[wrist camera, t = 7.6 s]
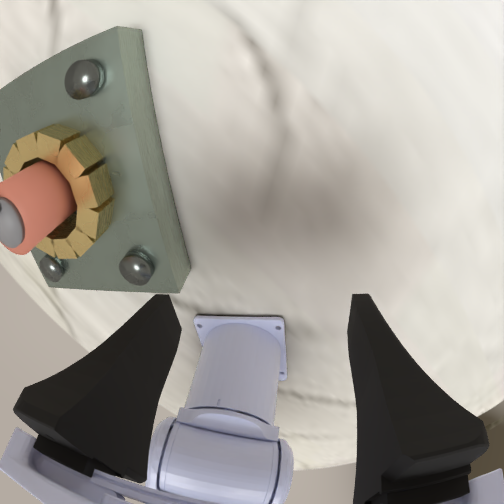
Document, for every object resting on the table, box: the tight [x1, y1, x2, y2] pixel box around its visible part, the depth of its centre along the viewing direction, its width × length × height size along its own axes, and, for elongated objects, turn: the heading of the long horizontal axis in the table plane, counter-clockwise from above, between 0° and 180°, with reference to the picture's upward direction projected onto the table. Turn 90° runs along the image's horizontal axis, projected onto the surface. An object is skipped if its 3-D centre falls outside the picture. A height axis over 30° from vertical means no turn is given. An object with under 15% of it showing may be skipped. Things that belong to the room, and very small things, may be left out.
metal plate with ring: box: [0, 26, 191, 293], centre depth 18 cm, size 18×14×5 cm
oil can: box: [0, 159, 77, 255], centre depth 15 cm, size 4×4×8 cm
